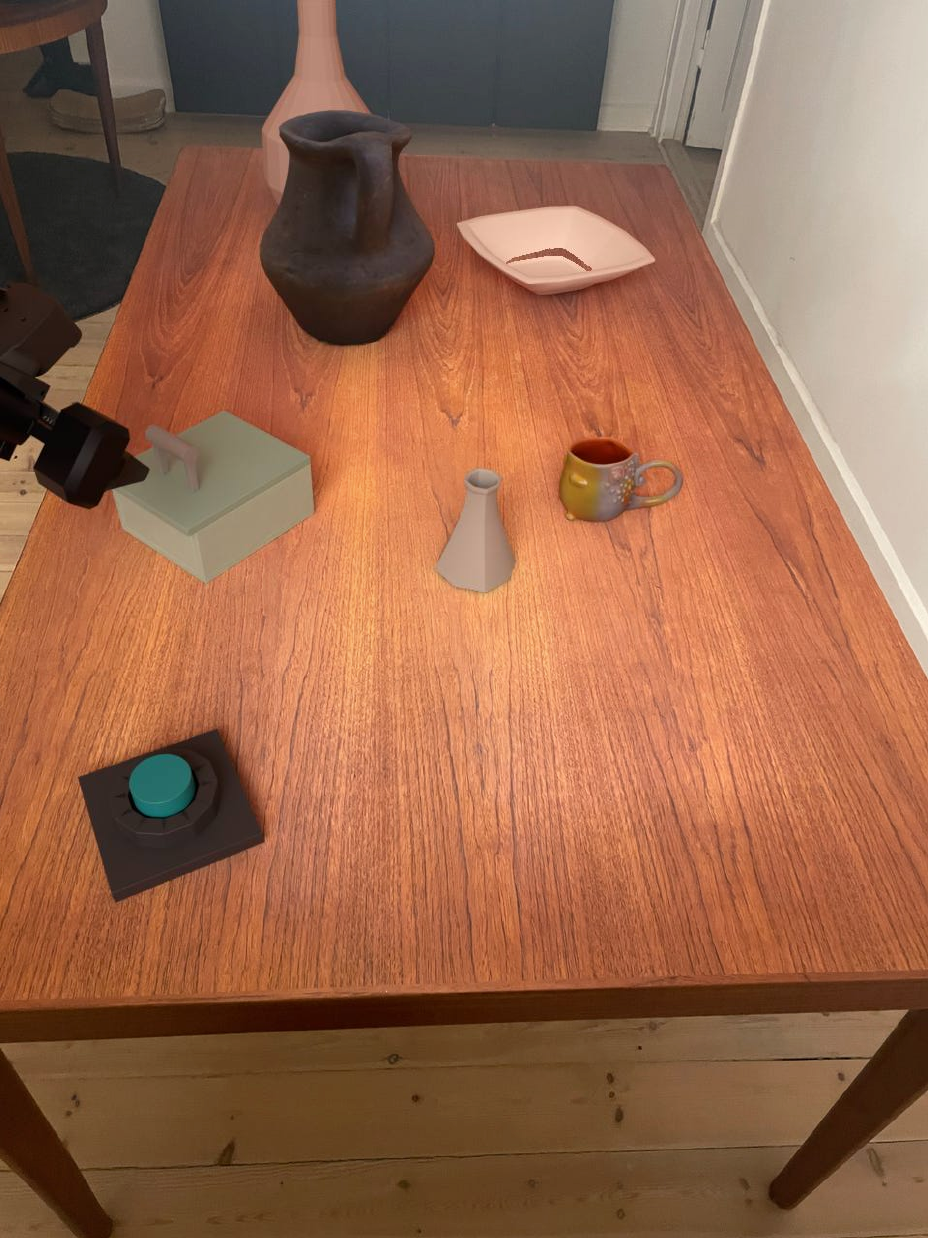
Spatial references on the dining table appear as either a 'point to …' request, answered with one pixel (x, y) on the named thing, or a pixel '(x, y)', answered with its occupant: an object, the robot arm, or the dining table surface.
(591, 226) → the bowl
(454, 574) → the flask
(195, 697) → the dining table surface
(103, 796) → the panel
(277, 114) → the vase
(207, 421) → the lid
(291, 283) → the pitcher
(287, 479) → the gray-green storage box
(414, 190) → the dining table surface
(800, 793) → the dining table surface
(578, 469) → the mug
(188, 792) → the button
